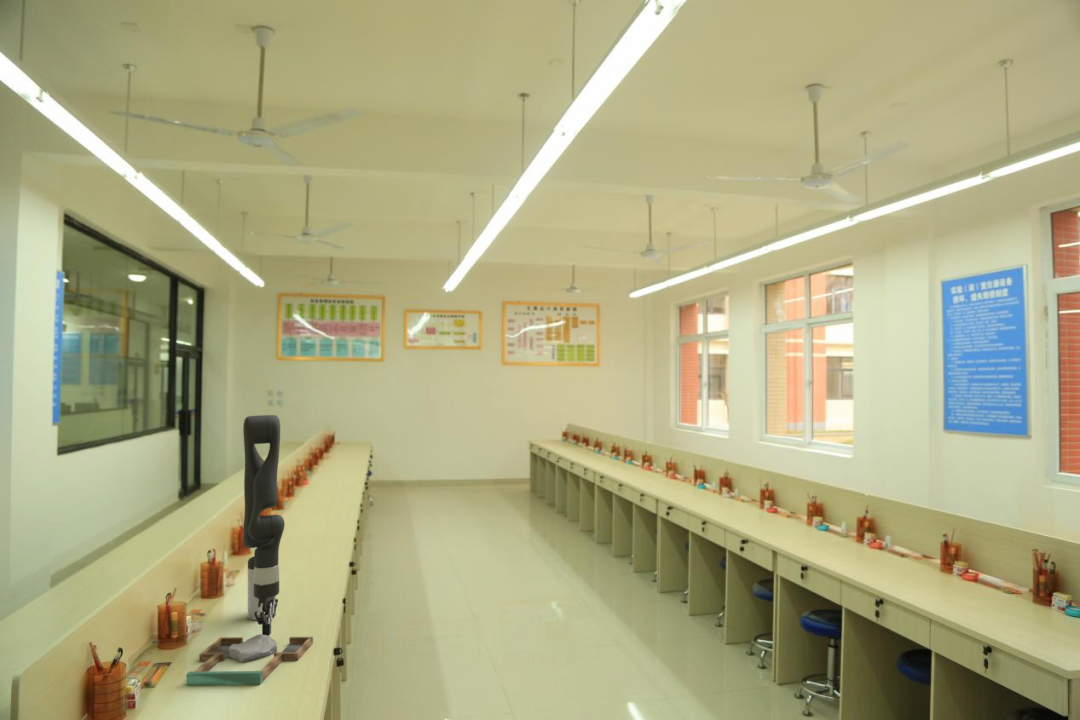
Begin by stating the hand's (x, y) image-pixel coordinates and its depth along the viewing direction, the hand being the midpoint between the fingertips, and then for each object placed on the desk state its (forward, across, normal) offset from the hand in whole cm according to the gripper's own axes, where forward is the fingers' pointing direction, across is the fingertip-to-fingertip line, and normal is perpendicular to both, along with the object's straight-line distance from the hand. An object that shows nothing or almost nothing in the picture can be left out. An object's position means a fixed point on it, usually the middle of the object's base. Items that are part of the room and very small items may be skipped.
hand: (266, 635), depth 211 cm
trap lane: (+2, +14, 0) cm, 14 cm away
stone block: (+3, +8, 0) cm, 9 cm away
